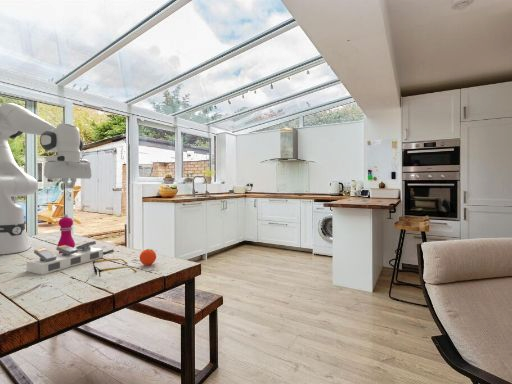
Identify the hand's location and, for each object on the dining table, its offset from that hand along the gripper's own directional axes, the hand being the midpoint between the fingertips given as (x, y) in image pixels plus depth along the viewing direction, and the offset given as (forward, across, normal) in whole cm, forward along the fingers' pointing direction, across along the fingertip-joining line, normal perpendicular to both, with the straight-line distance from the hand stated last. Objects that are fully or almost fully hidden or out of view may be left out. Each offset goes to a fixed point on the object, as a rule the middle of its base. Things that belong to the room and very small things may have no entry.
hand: (69, 188), depth 132 cm
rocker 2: (+27, +6, +6) cm, 28 cm away
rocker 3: (+27, -3, +6) cm, 28 cm away
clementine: (+33, -8, +40) cm, 53 cm away
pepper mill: (+33, -4, -9) cm, 35 cm away
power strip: (+33, +1, +7) cm, 34 cm away
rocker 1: (+27, +15, +6) cm, 31 cm away
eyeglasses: (+34, +4, +33) cm, 47 cm away
